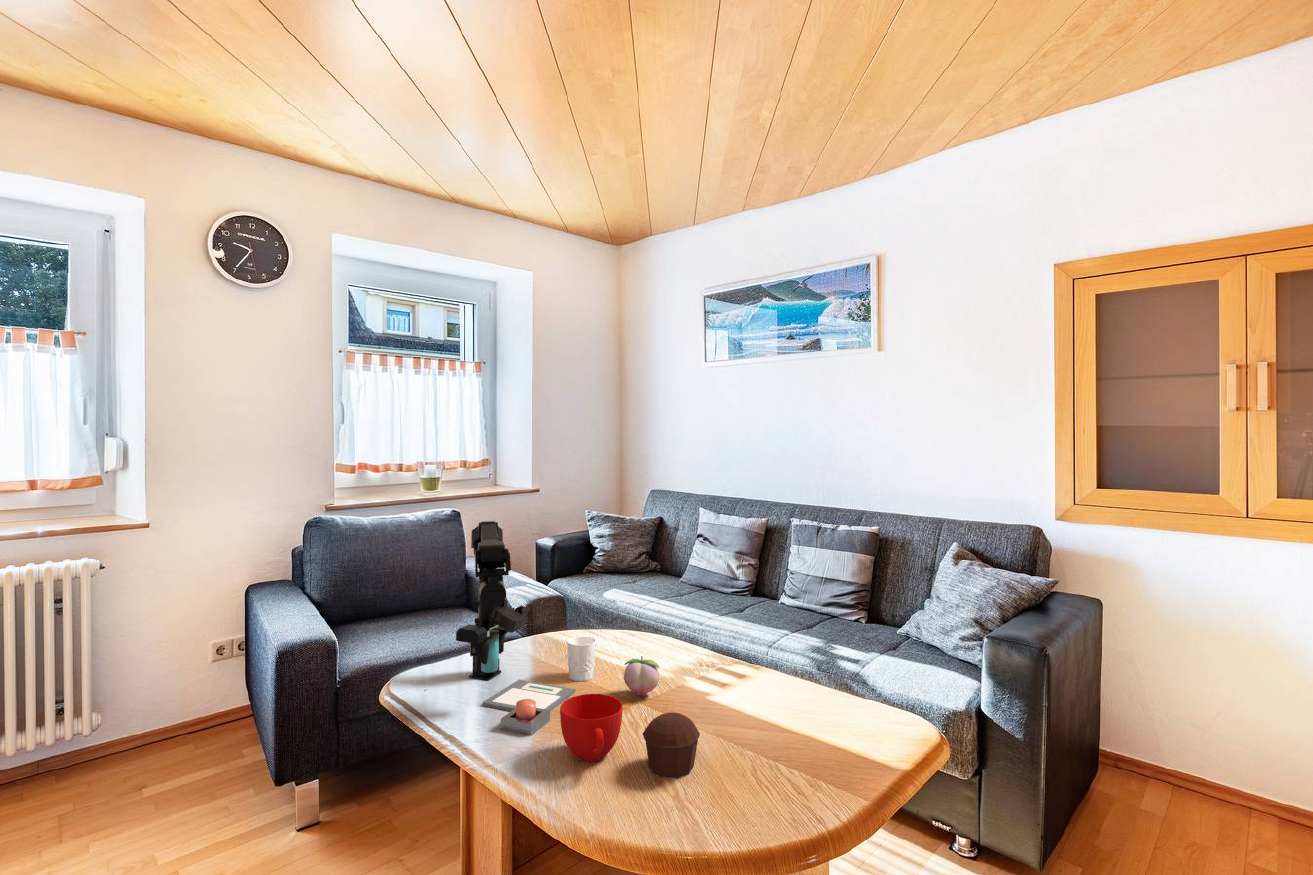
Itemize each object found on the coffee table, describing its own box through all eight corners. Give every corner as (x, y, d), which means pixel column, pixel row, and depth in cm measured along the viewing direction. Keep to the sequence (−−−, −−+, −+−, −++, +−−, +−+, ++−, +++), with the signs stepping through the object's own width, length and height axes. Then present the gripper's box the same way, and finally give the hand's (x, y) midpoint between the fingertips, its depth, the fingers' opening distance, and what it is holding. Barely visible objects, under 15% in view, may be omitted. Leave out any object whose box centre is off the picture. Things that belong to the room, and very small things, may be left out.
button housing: (500, 729, 142) (500, 718, 142) (520, 714, 150) (520, 704, 150) (531, 735, 140) (531, 724, 140) (550, 720, 147) (550, 710, 147)
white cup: (593, 682, 170) (594, 645, 170) (564, 682, 170) (565, 644, 171) (597, 671, 178) (597, 636, 178) (569, 671, 178) (569, 635, 178)
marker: (477, 670, 152) (478, 633, 152) (488, 665, 155) (488, 628, 155) (491, 673, 150) (492, 635, 150) (502, 667, 154) (502, 630, 154)
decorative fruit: (661, 689, 166) (661, 651, 166) (658, 702, 158) (658, 662, 158) (625, 687, 167) (626, 649, 167) (621, 700, 159) (621, 660, 159)
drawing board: (482, 705, 155) (482, 700, 155) (518, 682, 170) (519, 678, 170) (542, 716, 149) (542, 712, 149) (575, 692, 164) (575, 687, 164)
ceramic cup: (566, 784, 120) (566, 731, 120) (556, 743, 136) (556, 696, 136) (632, 775, 123) (633, 724, 123) (615, 736, 140) (615, 690, 140)
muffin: (667, 747, 135) (668, 700, 135) (710, 764, 128) (711, 714, 128) (630, 769, 126) (631, 718, 126) (674, 789, 119) (675, 735, 119)
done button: (512, 720, 143) (512, 705, 143) (522, 713, 148) (523, 697, 148) (528, 724, 142) (529, 708, 142) (539, 716, 146) (539, 700, 146)
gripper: (495, 610, 141) (494, 679, 141) (540, 591, 158) (539, 653, 158) (454, 604, 145) (453, 672, 145) (503, 586, 162) (502, 647, 163)
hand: (490, 660), depth 153 cm, fingers closed on marker, 4 cm apart
